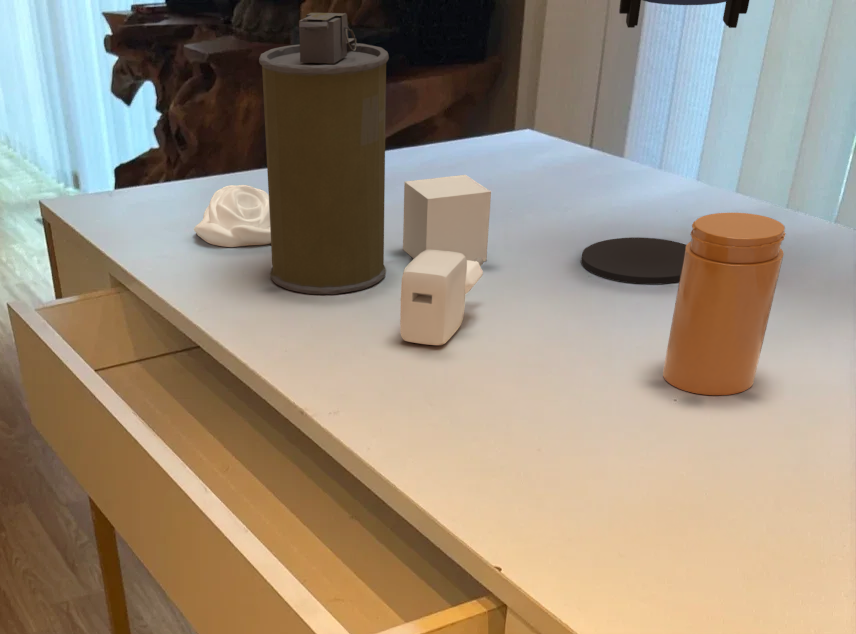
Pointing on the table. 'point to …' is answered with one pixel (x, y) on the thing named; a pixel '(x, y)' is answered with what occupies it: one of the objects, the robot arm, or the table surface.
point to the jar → (723, 303)
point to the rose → (236, 217)
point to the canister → (326, 158)
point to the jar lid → (686, 2)
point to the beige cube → (446, 216)
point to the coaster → (635, 260)
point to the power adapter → (436, 295)
